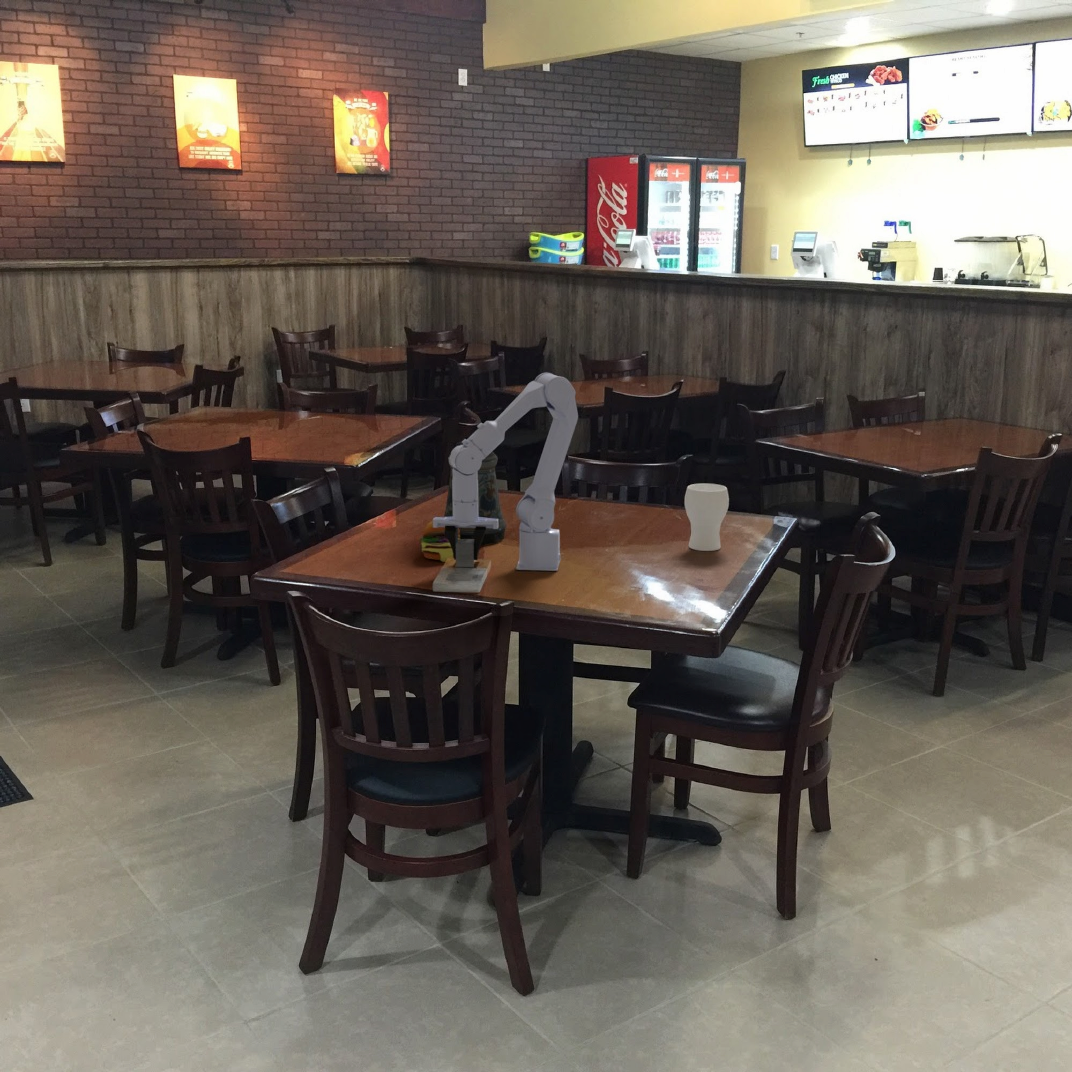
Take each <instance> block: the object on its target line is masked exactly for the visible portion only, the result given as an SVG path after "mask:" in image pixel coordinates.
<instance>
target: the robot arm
mask: <svg viewBox="0 0 1072 1072" xmlns="http://www.w3.org/2000/svg"><path fill="white" fill-rule="evenodd" d="M576 394H577V393H576V390H575V388H574V386H573V385H572V383H571V382H570V381H569V380H568V378H566V377H564V376H558V375H555V374H553V373H551V372H542V373H541V374H539V375H537V376H536V377H535V379H534V380H532V381H530V382H529V383H528V384H527V385H526V386H525V388H524V389H523V390H522V391H521V392H520V393H519V395H518V396H516V397H515V399H514V400H513V401H512V402H511V403H510V404H509V405H508V406H507V407H506V408H505V409H504V411H503V412H501V413H500V415H498V417H497V418H496V419H495V420H486V421H485V422H484V423H482V422H480V423H479V424H478V425H476V427H477V429H476V430H475V431H474V432H472V434H471V435H470V436H468V437H469V438H468V439H467V440H466V439H464V438H463V439H464V440H463V439H462V440H461V442H462V443H463V445H461V446H457V447H454V448H452V450H451V452H450V454H449V456H450V457H449V456H448V458H447V460H448V459H449V461H448V464H449V463H450V465H451V466H452V467H453V479H452V496H453V517H444V516H442V517H441V516H439V517H437V516H436V517H434V518H433V519H432V521H433V528H438V527H445V531H444V532H445V535H446V537H447V538H448V540H449V543H450V545H451V548H452V551H453V555H454V560H456V542H457V540H458V527H463V528H475V530H474V560H478V559H479V557H480V555H479V554H480V549H481V546H482V545H481V542H482V540H483V537H484V534H485V532H486V530H487V528H493V529H498V519H492V518H483V517H478V470H479V469H480V467H481V464H482V460H483V459H485V458H486V457H487V456H488V455H489V454H490V453H491V452H494V450H495V449H496V448H497V447H498V446H499V445H501V444H502V443H503V441H504V440H505V433H506V431H508V429H510V428H511V427H512V426H513V425H514V424H515V423H517V422H518V421H519V420H520V419H521V418H522V417H523V416H524V415H526V414H527V413H528V412H530V410H532V409H535V408H545V407H546V408H547V410H548V411H549V414H551V416H552V422H551V426H550V428H549V431H548V435H547V438H546V440H545V443H544V447H543V450H542V453H541V456H540V459H539V460H538V461H539V462H538V466H537V468H536V471H535V475H534V477H533V480H532V483H531V484H530V486H529V487H527V489H526V490H525V492H524V495H523V497H522V498H521V499H520V500H519V501H518V503H517V505H516V509H515V513H516V516H517V518H518V519H519V520H520V524H519V528H518V529H519V531H518V532H519V533H518V534H519V537H518V540H519V541H518V543H519V545H518V546H519V550H518V552H519V553H518V554H519V557H518V562H517V565H516V567H515V570H516V571H517V570H519V571H549V572H550V571H552V572H553V571H554V572H555V571H556V572H557V571H558V570H559V567H560V566H559V565H560V563H561V555H562V554H561V553H560V552H561V551H560V550H561V547H560V546H561V539H560V538H561V534H560V532H561V531H560V529H556V528H552V525H553V524H554V521H555V511H554V510H555V506H556V497H555V489H556V486H557V483H558V481H559V477H560V474H561V471H562V468H563V465H564V463H565V460H566V456H567V453H568V451H569V447H570V445H571V442H572V438H573V435H574V432H575V429H576V425H577V423H578V420H579V413H578V407H577V401H576ZM450 465H449V466H450Z"/></svg>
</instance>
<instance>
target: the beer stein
mask: <svg viewBox="0 0 1072 1072" xmlns="http://www.w3.org/2000/svg"><path fill="white" fill-rule="evenodd" d="M469 437H470V436H468V437H463V438H462V441H463V440H464V439H466V440H467V439H468V438H469ZM462 441H459V442H456V444H455V445H454V446H455V447H457V446H461V445H463V443H462ZM455 447H454V448H455ZM449 457H450V455H449V456H448V458H449ZM448 458H447V461H448V465H449V467H450V476H449V483H448V490H447V499H446V504H445V510H444V514H443V517H453V496H452V479H453V467H452V466H451V465H450V463H449V459H448ZM498 459H499V458H498V456H497V454H495V452H494V451H492V452H491V453H490V454H489V455H488V456H487V457H486V458H485V459H483V460H482V464H481V467H480V469H479V470H478V517H483V518H492V519H498V529H493V528H487V530H486V532H485V534H484V537H483V540H482V542H481V546H482V545H483V546H484V545H490V544H491V545H492V544H496V543H499V542H500V541H503V540H504V539H505V533H506V528H507V522H506V520H505V518H504V515H503V512H502V507H501V502H500V495H499V490H498V489H499V488H498V483H497V482H498V481H497V475H496V466H497V463H498ZM458 528H459V530H460V533H459V534H458V535H460V539H474V530H475V528H463V527H458Z"/></svg>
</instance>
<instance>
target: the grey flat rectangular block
mask: <svg viewBox="0 0 1072 1072" xmlns="http://www.w3.org/2000/svg"><path fill="white" fill-rule="evenodd" d="M491 568H492V559H491V558H478V560H476V568H456V560H454V558H448V559H447V560H446V562H444V563H443V566H442V567H441V569H440V570H439V572H438V574H437V575H436V577H435V579H433V582H432V592H441V593H442V592H443V593H444V592H445V593H448V592H449V593H475V594H476V593H480V592H481V591H482V588H483V586H484V584H485V581H486V579H487V576H488V575H489V572H490V570H491Z"/></svg>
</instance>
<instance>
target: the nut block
mask: <svg viewBox="0 0 1072 1072" xmlns="http://www.w3.org/2000/svg"><path fill="white" fill-rule="evenodd" d="M456 568H476V560H474V539H458V540H457V542H456Z"/></svg>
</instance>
